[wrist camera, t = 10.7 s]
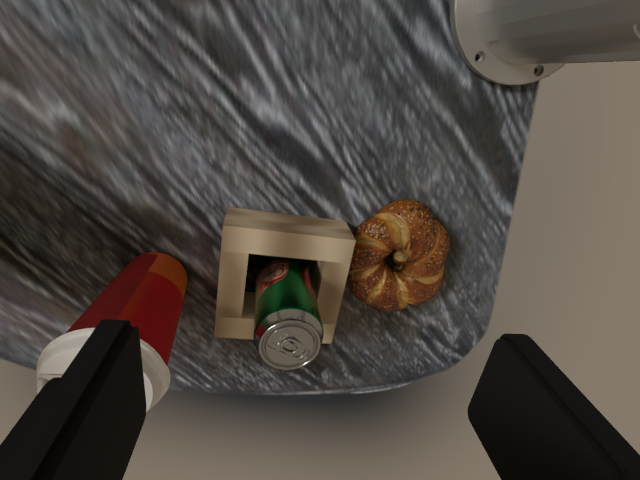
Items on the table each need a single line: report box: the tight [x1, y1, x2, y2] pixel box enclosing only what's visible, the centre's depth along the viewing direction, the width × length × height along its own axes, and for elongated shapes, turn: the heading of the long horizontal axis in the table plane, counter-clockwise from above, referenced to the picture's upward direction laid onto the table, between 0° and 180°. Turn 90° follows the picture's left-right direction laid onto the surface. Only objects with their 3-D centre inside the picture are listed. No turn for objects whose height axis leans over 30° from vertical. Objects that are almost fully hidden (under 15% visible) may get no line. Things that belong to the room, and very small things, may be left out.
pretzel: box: [348, 199, 450, 313], centre depth 36 cm, size 12×11×4 cm
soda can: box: [253, 255, 324, 370], centre depth 31 cm, size 5×5×12 cm
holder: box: [214, 207, 356, 344], centre depth 34 cm, size 11×11×4 cm
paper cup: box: [37, 252, 187, 412], centre depth 29 cm, size 8×8×14 cm
